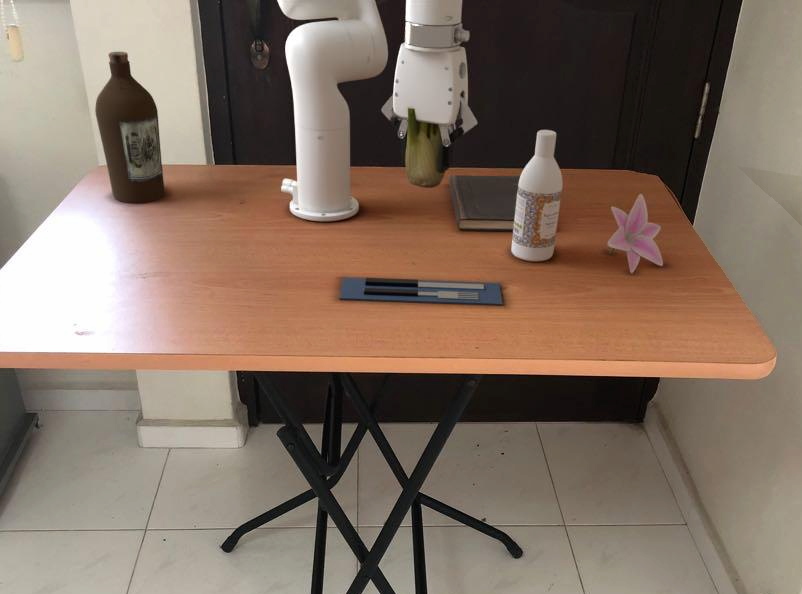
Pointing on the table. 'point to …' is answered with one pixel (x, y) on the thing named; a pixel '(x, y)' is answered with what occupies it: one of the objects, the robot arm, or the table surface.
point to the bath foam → (538, 202)
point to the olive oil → (129, 135)
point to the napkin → (355, 291)
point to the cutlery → (421, 285)
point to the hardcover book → (484, 202)
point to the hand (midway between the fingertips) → (426, 165)
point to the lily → (636, 235)
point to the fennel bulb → (422, 152)
